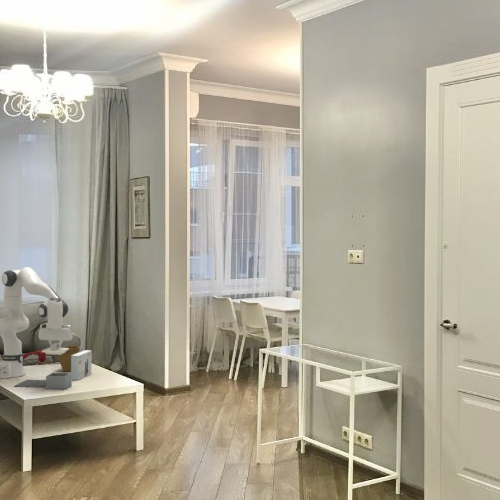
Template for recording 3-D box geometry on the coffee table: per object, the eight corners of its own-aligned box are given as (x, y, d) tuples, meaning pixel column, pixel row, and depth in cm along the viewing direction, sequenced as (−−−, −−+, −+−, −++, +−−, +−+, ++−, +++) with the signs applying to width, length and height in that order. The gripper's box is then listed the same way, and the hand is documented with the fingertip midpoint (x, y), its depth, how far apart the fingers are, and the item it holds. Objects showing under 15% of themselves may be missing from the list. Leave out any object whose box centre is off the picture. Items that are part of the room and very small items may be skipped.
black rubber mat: (13, 386, 433) (13, 385, 433) (27, 380, 450) (27, 379, 450) (45, 387, 430) (44, 386, 430) (56, 381, 448) (56, 380, 448)
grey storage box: (46, 389, 425) (46, 376, 424) (53, 385, 434) (52, 372, 434) (65, 389, 423) (65, 376, 423) (71, 386, 433) (71, 373, 433)
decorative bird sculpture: (21, 370, 504) (20, 357, 494) (22, 360, 510) (20, 347, 500) (62, 368, 511) (62, 355, 500) (62, 358, 517) (62, 345, 507)
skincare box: (78, 380, 449) (78, 355, 449) (70, 380, 450) (70, 355, 450) (92, 373, 470) (92, 350, 469) (84, 373, 471) (84, 349, 471)
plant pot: (82, 371, 477) (82, 348, 476) (60, 373, 470) (59, 349, 470) (77, 367, 490) (77, 344, 490) (55, 369, 483) (55, 346, 483)
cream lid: (42, 354, 425) (42, 345, 425) (49, 351, 436) (49, 342, 435) (62, 355, 423) (62, 345, 423) (68, 351, 434) (68, 342, 434)
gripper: (73, 324, 431) (73, 347, 431) (41, 323, 433) (42, 346, 434) (69, 326, 424) (69, 348, 425) (37, 325, 427) (37, 347, 428)
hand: (55, 347), depth 429 cm, fingers closed on cream lid, 3 cm apart
